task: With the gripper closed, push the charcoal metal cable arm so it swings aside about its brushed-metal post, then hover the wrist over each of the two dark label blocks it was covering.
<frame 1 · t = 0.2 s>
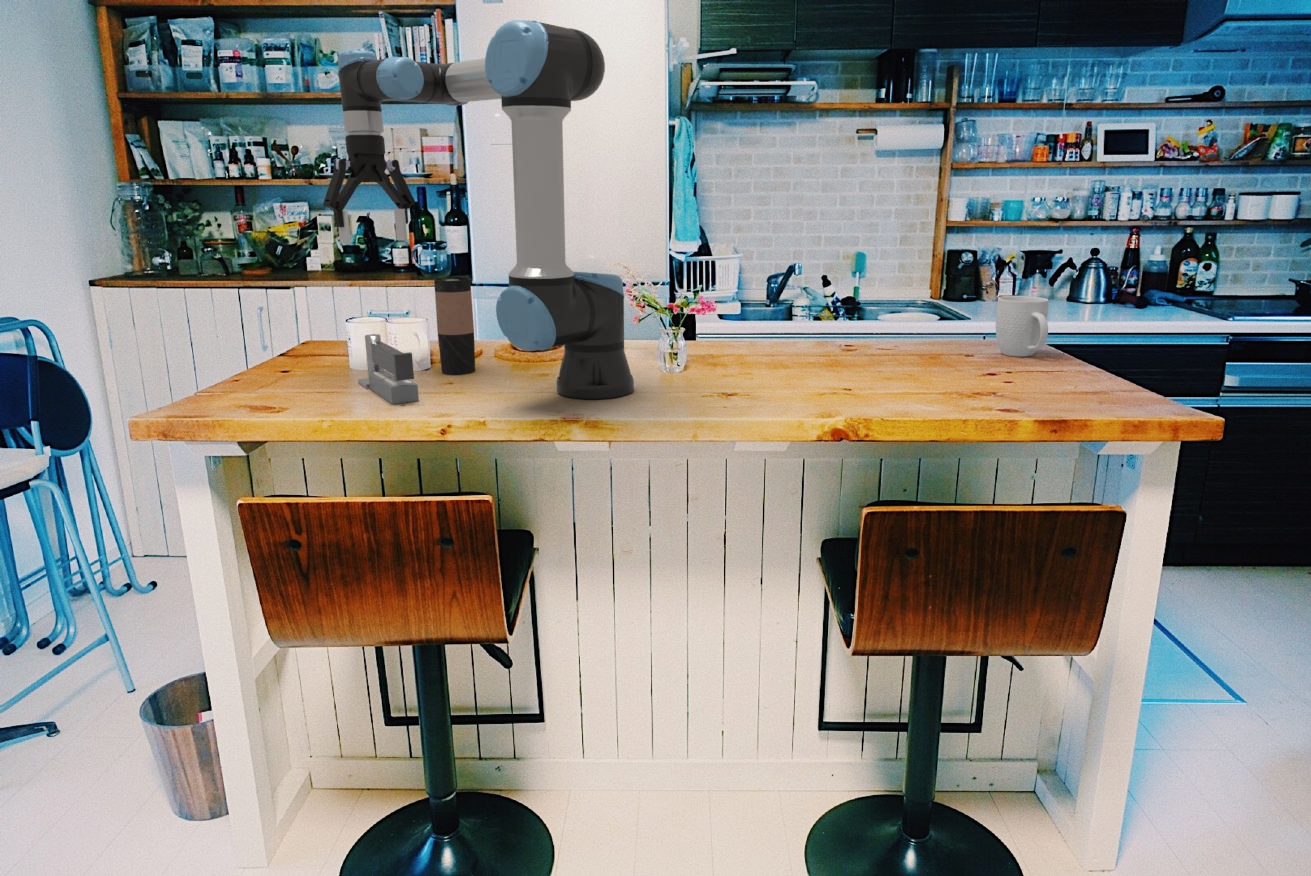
hand: (374, 242, 185), 28 cm above the countertop, fingers open, 13 cm apart
cable arm: (390, 359, 171), point 7 cm above the countertop, hinge at 0.0°
label block b: (399, 398, 169), on the countertop
travel mug: (458, 372, 193), on the countertop
post: (377, 384, 182), on the countertop
label block a: (388, 391, 175), on the countertop
mug: (1019, 356, 207), on the countertop
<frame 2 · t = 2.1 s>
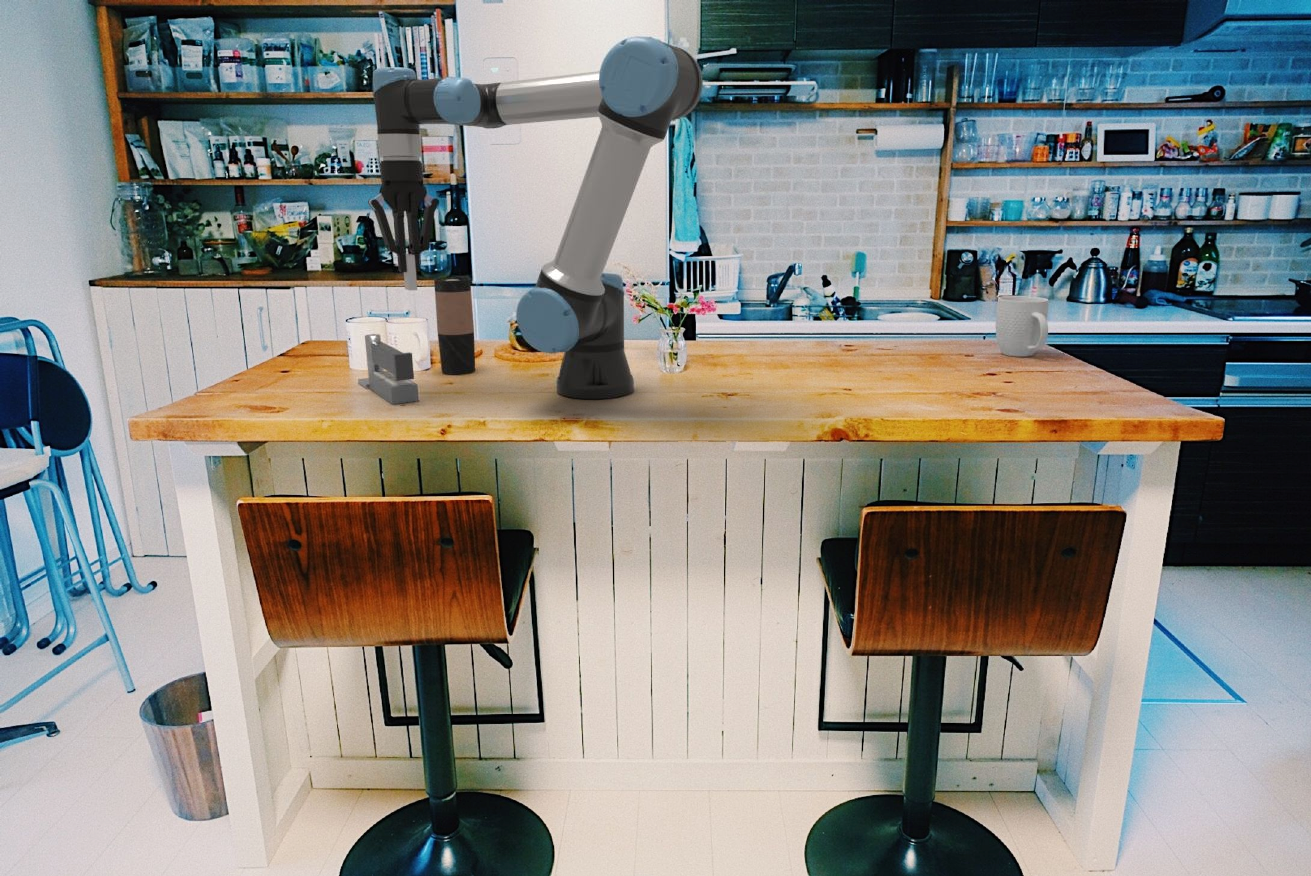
hand: (411, 289, 169), 20 cm above the countertop, fingers closed
nothing on the countertop moved.
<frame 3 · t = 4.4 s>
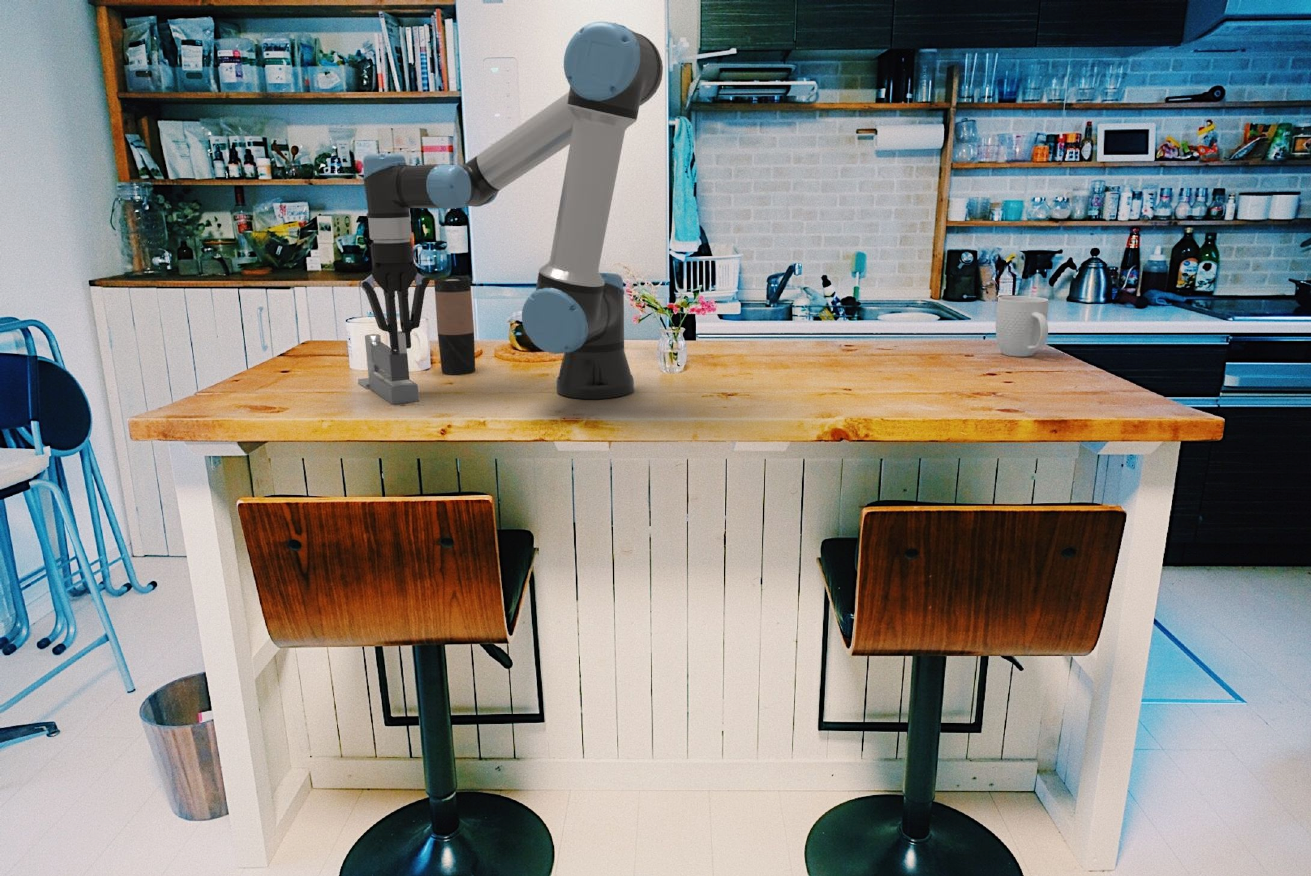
hand: (402, 365, 171), 6 cm above the countertop, fingers closed
cable arm: (387, 359, 170), point 7 cm above the countertop, hinge at -2.5°, touching gripper
everything else where it was.
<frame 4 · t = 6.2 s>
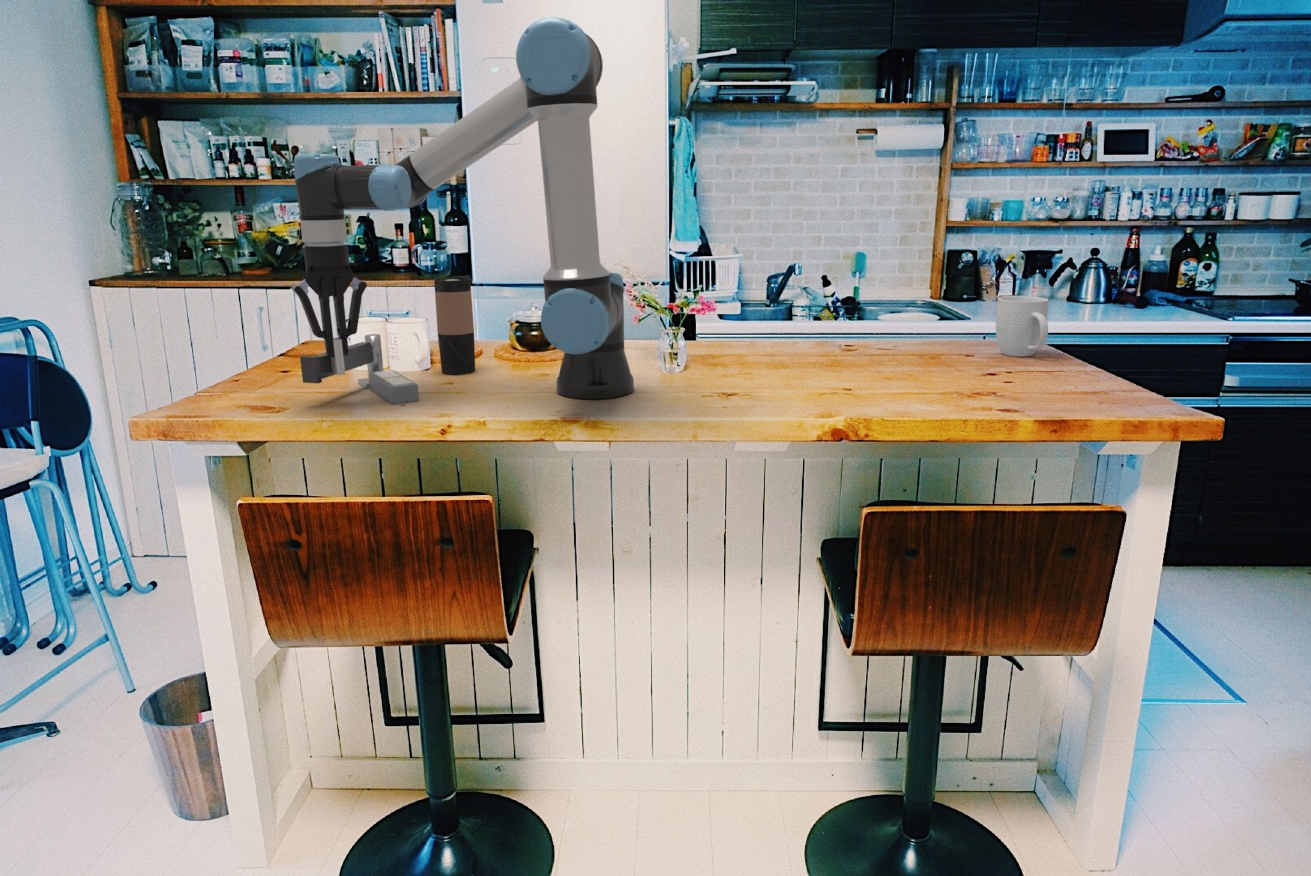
hand: (339, 373, 165), 6 cm above the countertop, fingers closed
cable arm: (339, 360, 169), point 7 cm above the countertop, hinge at -49.4°, touching gripper
everything else where it was.
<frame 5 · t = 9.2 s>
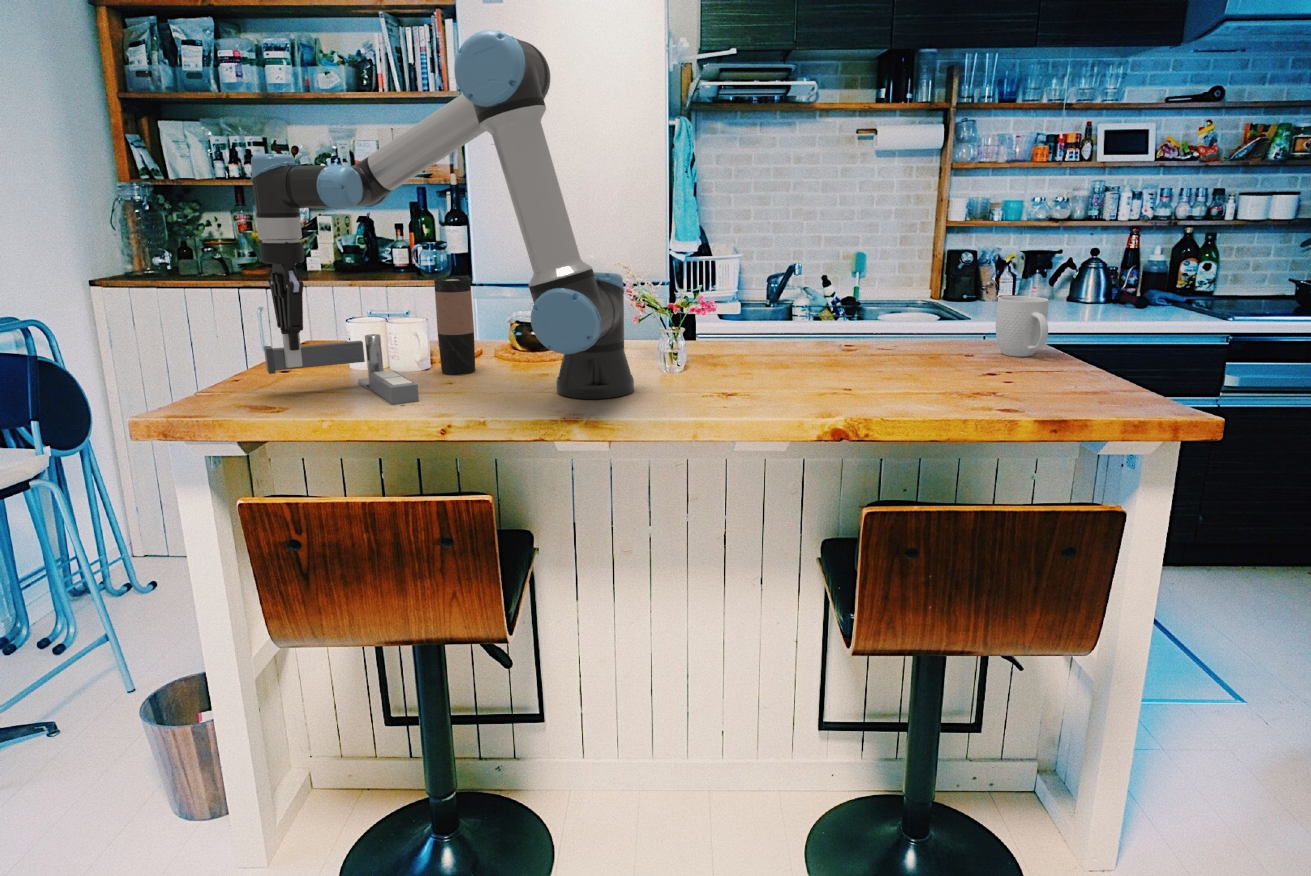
hand: (294, 366, 171), 6 cm above the countertop, fingers closed
cable arm: (315, 355, 174), point 7 cm above the countertop, hinge at -93.1°, touching gripper
everything else where it was.
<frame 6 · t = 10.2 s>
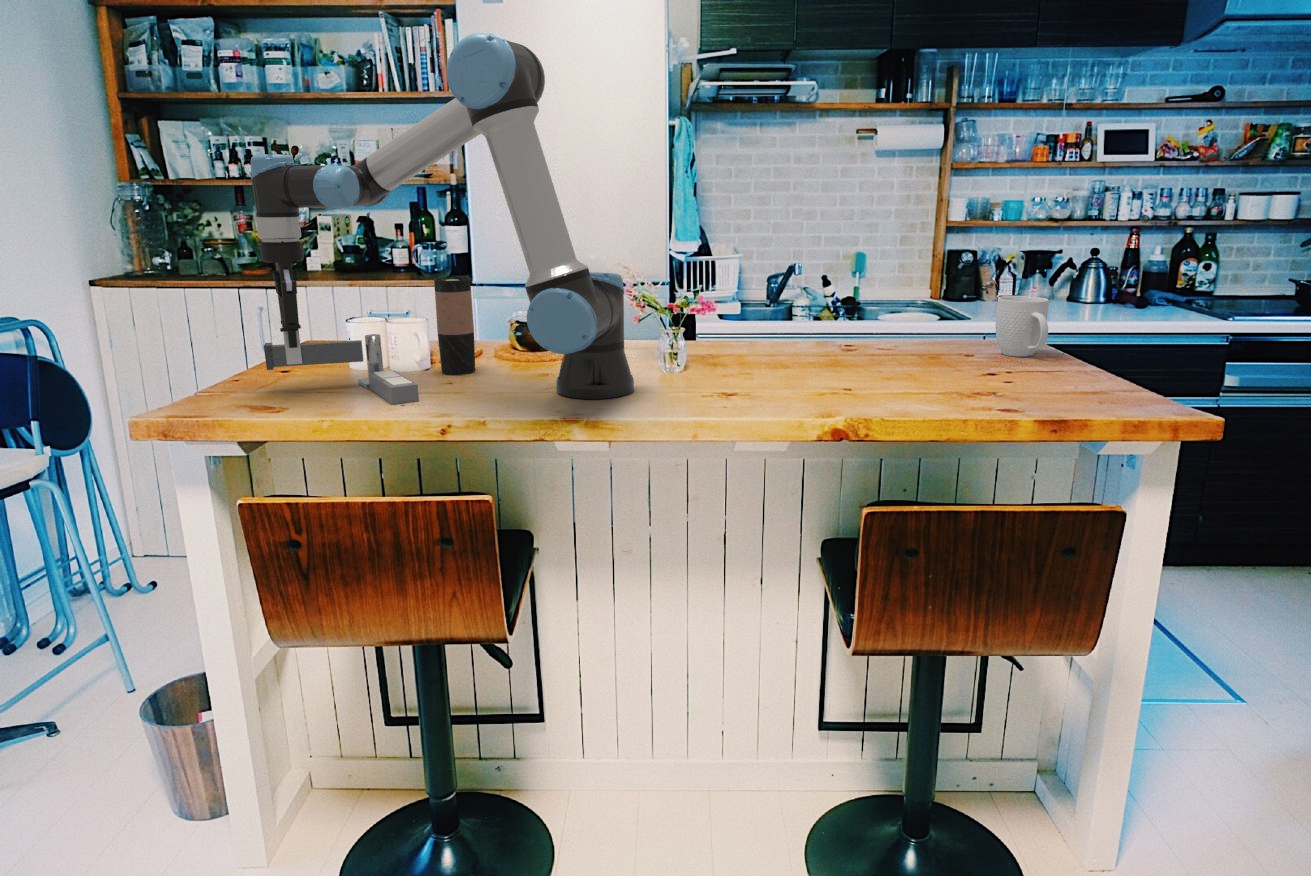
hand: (294, 363, 174), 6 cm above the countertop, fingers closed
cable arm: (314, 353, 176), point 7 cm above the countertop, hinge at -104.8°, touching gripper
everything else where it was.
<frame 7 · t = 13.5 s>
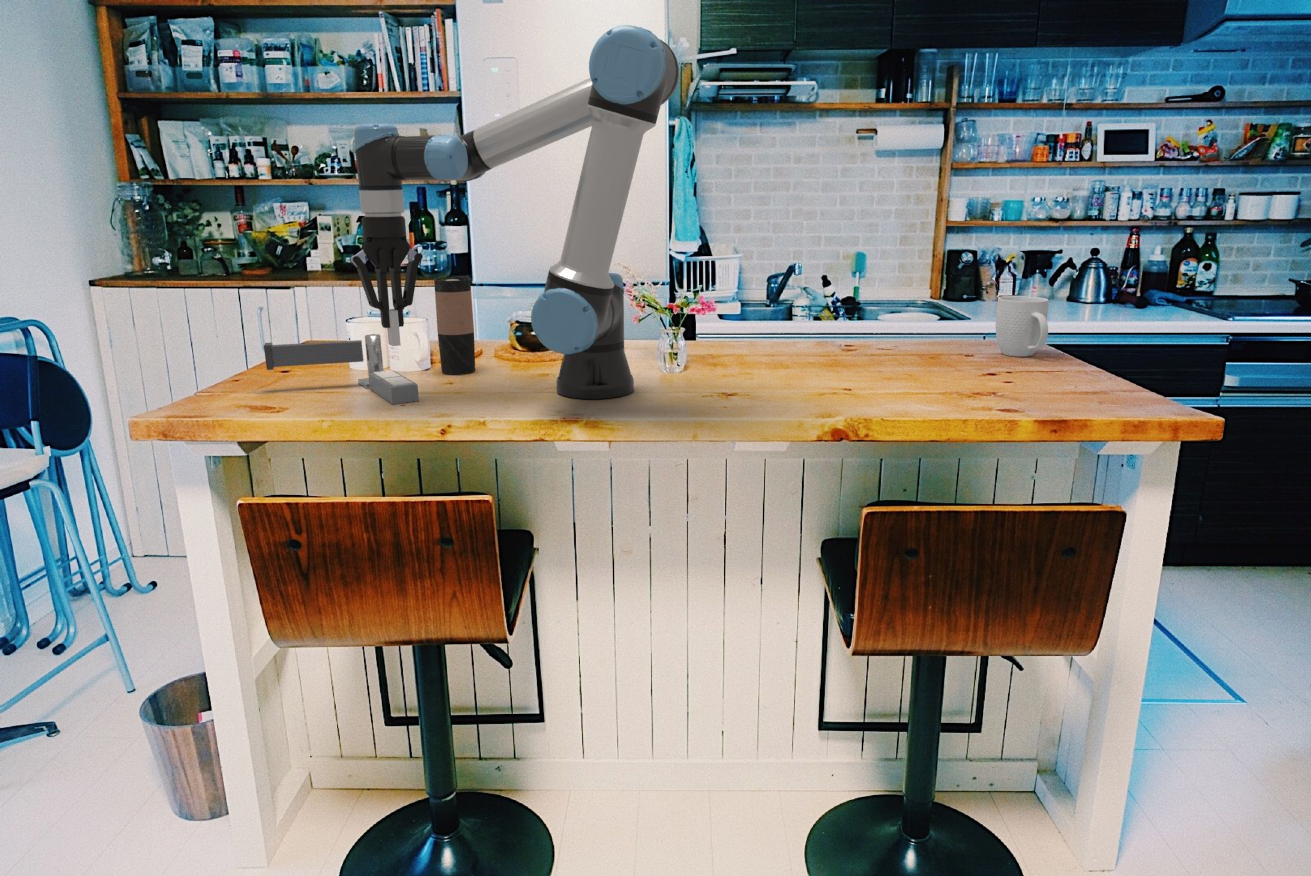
hand: (394, 344, 167), 10 cm above the countertop, fingers closed
cable arm: (315, 353, 176), point 7 cm above the countertop, hinge at -105.1°
everything else where it was.
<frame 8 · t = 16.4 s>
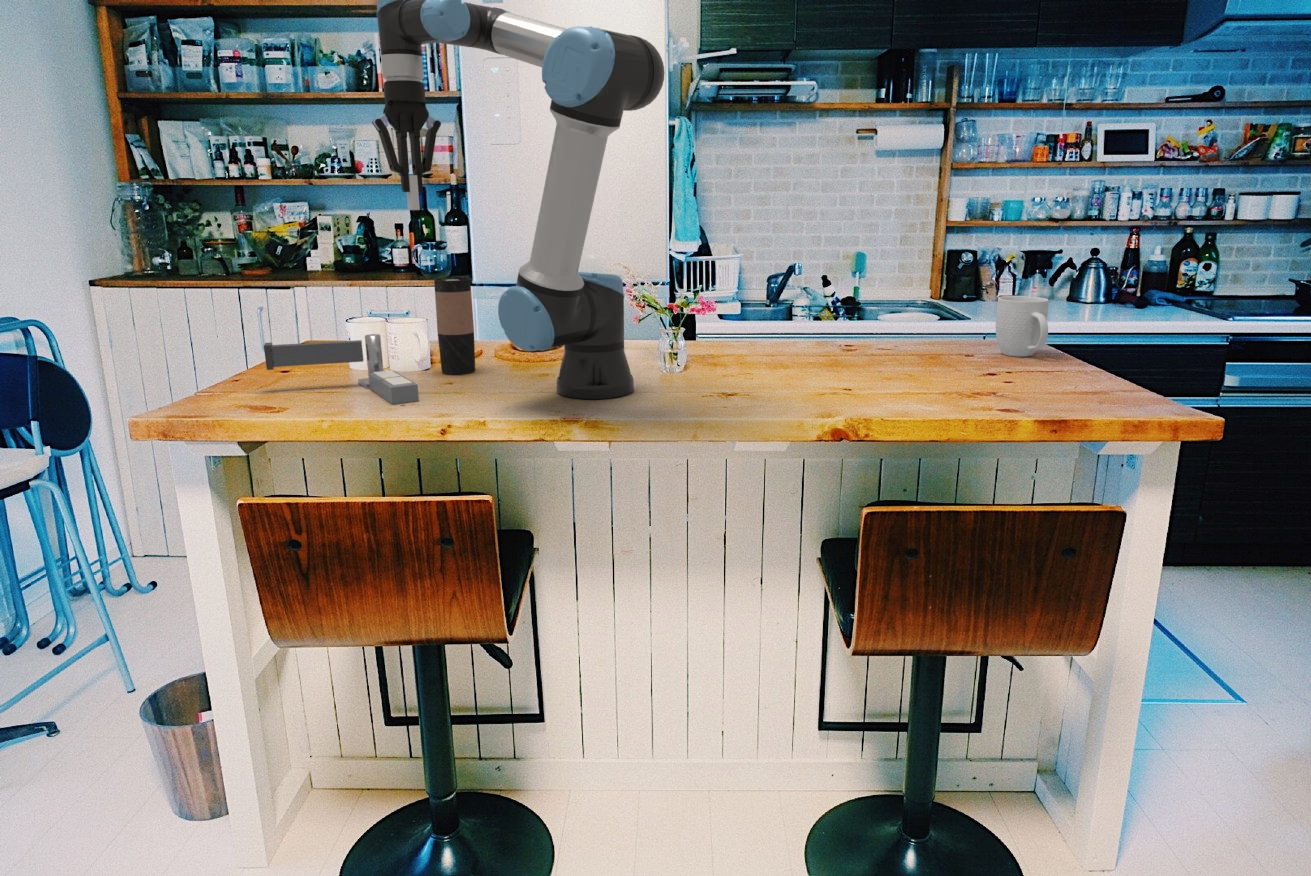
hand: (413, 209, 174), 34 cm above the countertop, fingers closed
nothing on the countertop moved.
at the end: cable arm at -105° (first picture: +0°) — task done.
